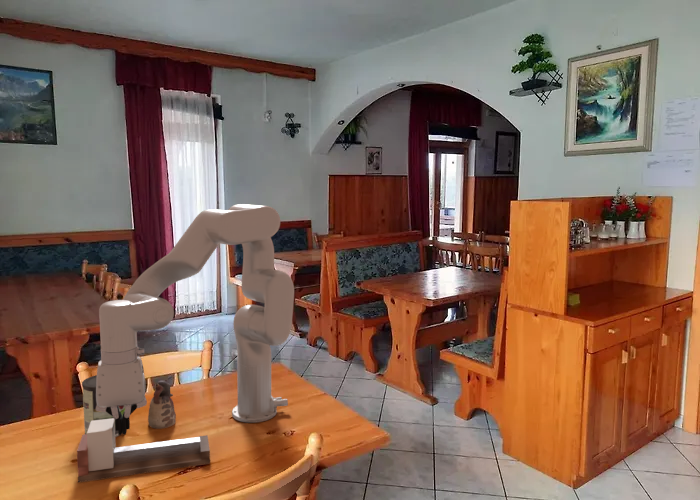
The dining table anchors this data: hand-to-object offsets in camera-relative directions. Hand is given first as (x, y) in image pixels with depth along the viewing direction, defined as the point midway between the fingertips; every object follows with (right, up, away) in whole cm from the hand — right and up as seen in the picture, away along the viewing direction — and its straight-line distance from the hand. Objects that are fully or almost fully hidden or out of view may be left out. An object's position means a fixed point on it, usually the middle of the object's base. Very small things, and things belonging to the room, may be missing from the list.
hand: (122, 432), depth 122 cm
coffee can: (-12, -6, +18) cm, 23 cm away
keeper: (-4, -7, -1) cm, 8 cm away
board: (+5, -8, +3) cm, 10 cm away
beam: (+5, -7, +2) cm, 9 cm away
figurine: (+1, -6, +23) cm, 24 cm away
